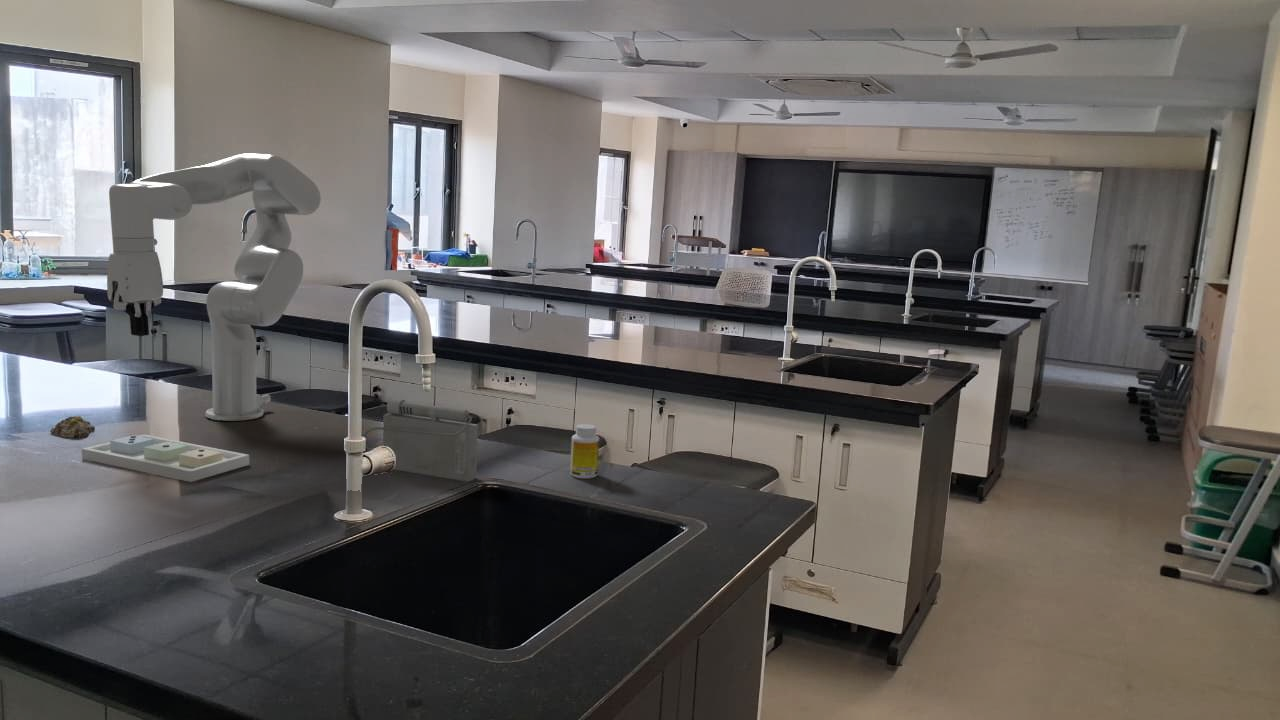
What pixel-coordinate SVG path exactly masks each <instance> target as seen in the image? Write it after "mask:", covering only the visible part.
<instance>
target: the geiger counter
mask: <svg viewBox="0 0 1280 720" xmlns="http://www.w3.org/2000/svg"><path fill="white" fill-rule="evenodd" d="M386 410H387V411H386V412H387V413H385V414H383V415H382V416H383V417H382V418H383V419H382V422H383V423H382V427H380V426H378V427H376V426H375V427H372V428H369V429H368V430H366V431H365V433H364V434H363V435H362V437H363V436H364V437H365V438H366V437H367V435H368V434H369V433H370V432H371V431H376V430H382V446H383V445H384V446H388V447H390V448H391V449H392V450H393V451H394V453H395V455H396V466H395V469H393V470H394V471H401V472H407V473H413V474H420V475H426V476H431V477H436V478H441V479H442V478H443V479H449V480H450V479H451V480H454V481H461V482H471V481H474V480H475V479H477V465H478V464H477V463H478V461H477V460H478V458H477V457H478V432H479V430H478V429H479V428H478V427H479V425H478V424H477V423H471V422H472V420H473V417H472V416H471V415H470V414H469V411H468V410H467V409H461V408H455V407H446V406H439V405H431V404H426V403H425V404H424V403H416V402H411V401H406V400H405V399H400V398H389V399H388V400H387V404H386ZM468 419H469V420H468ZM373 448H374V447H372V448H371V447H369V446H368V445H367V444H366V447H365V449H367V450H368V451H370V450H371V449H373Z"/></svg>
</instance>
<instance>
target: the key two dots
mask: <svg viewBox="0 0 1280 720" xmlns="http://www.w3.org/2000/svg"><path fill="white" fill-rule="evenodd" d="M222 460H223V452H218V451H213V450H208V449H203V448H201V449H197V450H193V451H189V452H185V453H181V454H179V465H184V466H188V467H193V468H197V467H201V466H205V465H208V464H212V463H215V462H219V461H222Z"/></svg>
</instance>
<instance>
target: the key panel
mask: <svg viewBox="0 0 1280 720" xmlns="http://www.w3.org/2000/svg"><path fill="white" fill-rule="evenodd" d="M139 436H141V437H146V438H151V439H154V445H155V444H160V443H164V442H172V443H177V444H182V445H187V446H188V452H189V451H193V450H197V449H201V448H203V449H208V450H213V451H218V452H223V460H222V461H219V462H215V463H212V464H208V465H205V466H201V467H197V468H193V467H188V466H184V465H179V458H177V459H173V460H169V461H165V462H164V461H159V460H154V459H149V458H144V451H143V452H139V453H135V454H131V455H130V454H125V453H120V452H115V451H111V450H110V442H105V443H102V444H96V445H92V446H88V447H83V448H81V459H82V460H86V461H91V462H95V463H101V464H104V465H109V466H114V467H120V468H123V469H128V470H132V471H137V472H140V473H141V472H142V473H148V474H152V475H156V476H159V477H160V476H161V477H165V478H169V477H170V479H176V480H180V481H183V482H189V483H192V482H196V481H199V480H203V479H205V478H209V477H213V476H217V475H219V474H223V473H227V472H229V471H232V470H233V471H234V470H237V469H240V468H243V467H247V466H250V454H246V453H242V452H238V451H237V452H236V451H230V450H225V449H220V448H215V447H211V446H205V445H200V444H196V443H190V442H185V441H180V440H174V439H169V438H165V437H161V436H160V437H159V436H155V435H148V434H141V435H139Z"/></svg>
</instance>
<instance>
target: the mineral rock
mask: <svg viewBox="0 0 1280 720" xmlns="http://www.w3.org/2000/svg"><path fill="white" fill-rule="evenodd" d="M95 430H96V426H94V425H91V422H90V421H86V420H85V419H84V418H82V417H81V416H79V415H78V416H77V415H76V416H68V417H67V418H65V419H62V420H61V421H60V422H59V421H58V423H57V424H55V426H54V427H52V428H51V430H50V431H49V433H51V434H53V435H54V436H57V437H60V438H64V439H65V438H69V439H70V438H71V439H82V438H86V437H88V436H89V435H90V434H89V433H93V432H94V431H95Z"/></svg>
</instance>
